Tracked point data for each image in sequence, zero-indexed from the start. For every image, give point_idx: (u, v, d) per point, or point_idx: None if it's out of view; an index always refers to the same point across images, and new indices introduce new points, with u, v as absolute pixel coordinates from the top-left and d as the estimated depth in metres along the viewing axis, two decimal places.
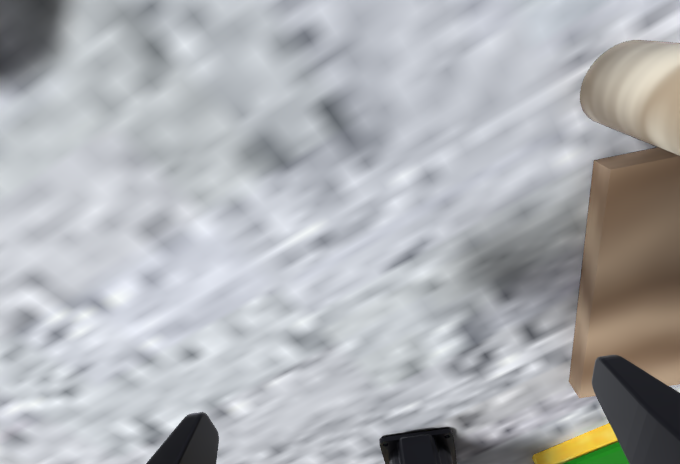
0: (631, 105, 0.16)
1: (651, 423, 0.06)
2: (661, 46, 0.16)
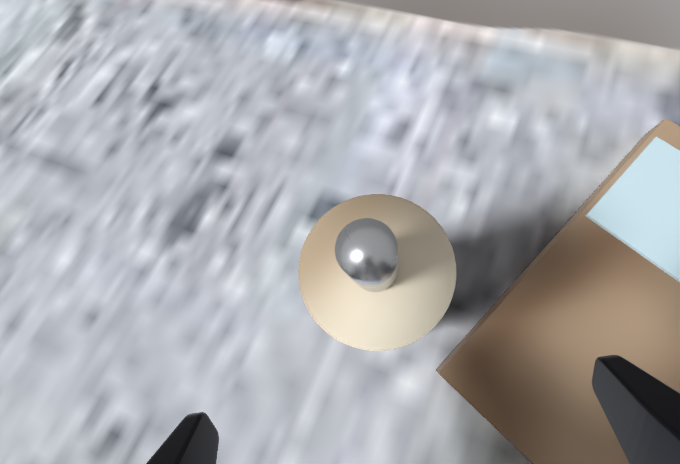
0: None
1: (651, 423, 0.06)
2: None
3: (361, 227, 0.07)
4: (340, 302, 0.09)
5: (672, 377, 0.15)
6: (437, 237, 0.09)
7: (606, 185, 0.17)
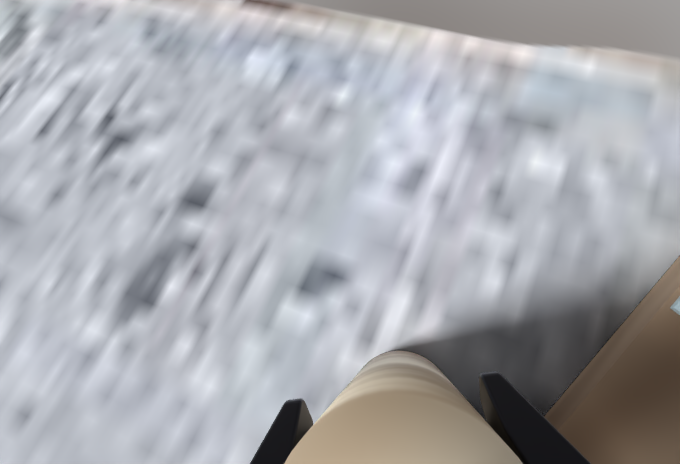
0: None
1: (507, 440, 0.07)
2: None
3: None
4: None
5: None
6: None
7: None
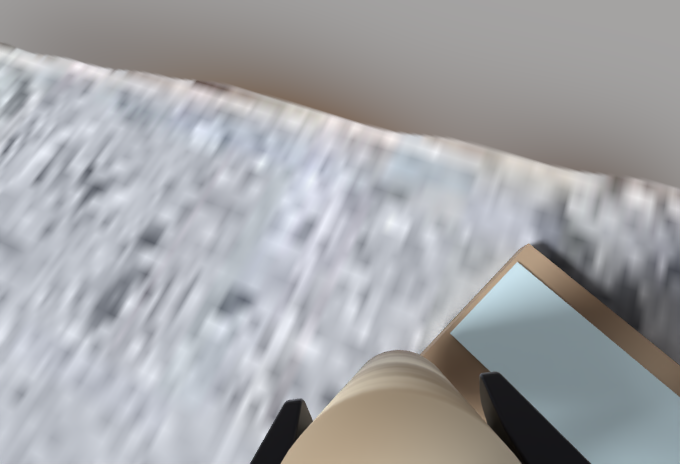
0: None
1: (507, 440, 0.07)
2: None
3: None
4: None
5: None
6: None
7: (471, 304, 0.19)
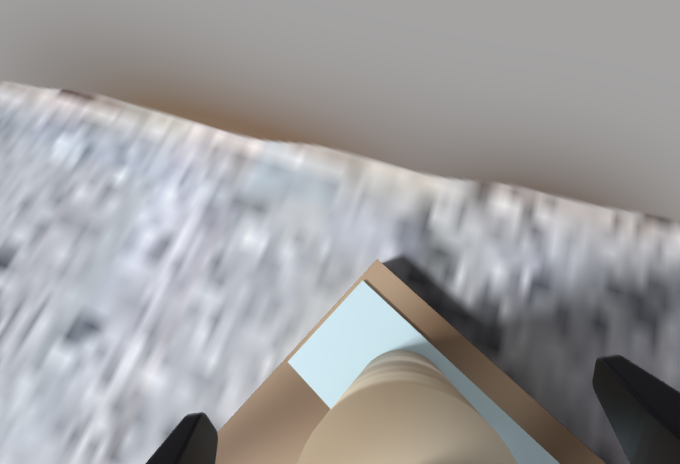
0: None
1: (652, 423, 0.06)
2: None
3: None
4: None
5: None
6: None
7: (313, 329, 0.17)
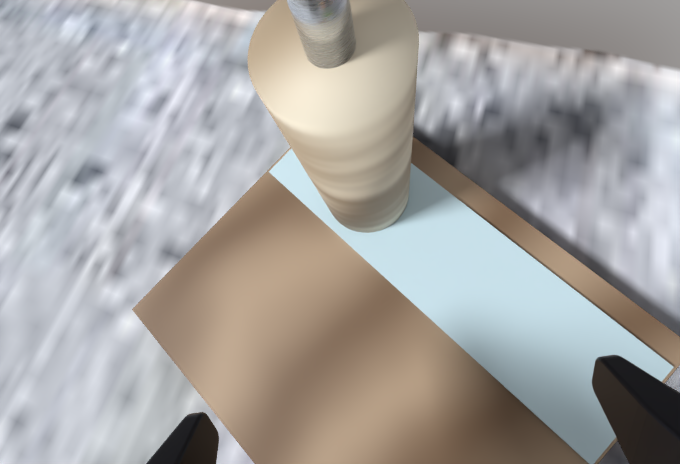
0: (320, 193, 0.14)
1: (651, 423, 0.06)
2: None
3: None
4: (292, 81, 0.09)
5: (308, 307, 0.18)
6: (399, 9, 0.09)
7: None
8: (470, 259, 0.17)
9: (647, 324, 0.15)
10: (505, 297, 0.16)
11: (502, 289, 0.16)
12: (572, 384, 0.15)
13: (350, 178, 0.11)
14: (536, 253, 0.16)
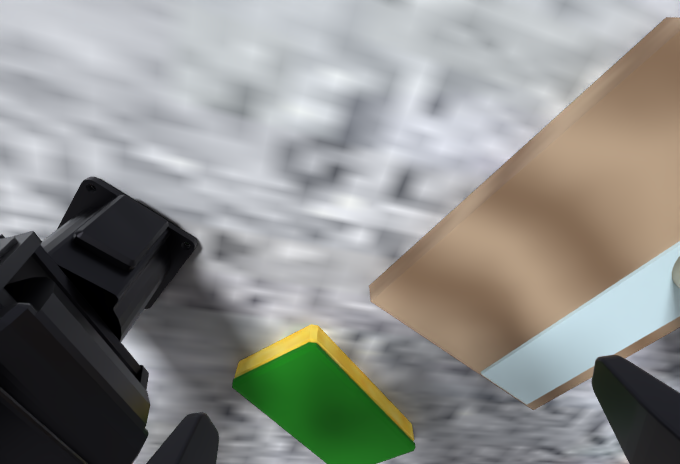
0: None
1: (651, 423, 0.06)
2: None
3: None
4: None
5: (623, 220, 0.19)
6: None
7: None
8: (622, 327, 0.23)
9: (549, 396, 0.26)
10: (588, 343, 0.24)
11: (594, 342, 0.23)
12: (526, 369, 0.25)
13: None
14: None
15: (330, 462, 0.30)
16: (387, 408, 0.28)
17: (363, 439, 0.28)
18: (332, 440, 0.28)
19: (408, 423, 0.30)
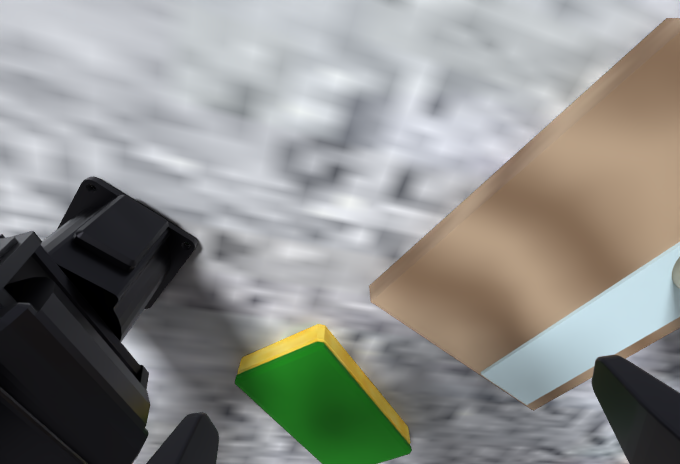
0: None
1: (651, 423, 0.06)
2: None
3: None
4: None
5: (623, 221, 0.19)
6: None
7: None
8: (622, 327, 0.23)
9: (549, 396, 0.26)
10: (588, 344, 0.24)
11: (594, 342, 0.23)
12: (526, 370, 0.25)
13: None
14: None
15: (325, 462, 0.30)
16: (386, 410, 0.28)
17: (360, 441, 0.28)
18: (330, 440, 0.28)
19: (405, 426, 0.30)
